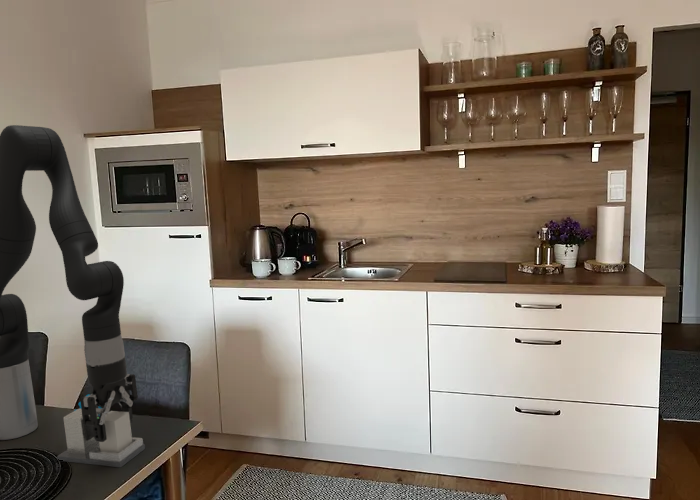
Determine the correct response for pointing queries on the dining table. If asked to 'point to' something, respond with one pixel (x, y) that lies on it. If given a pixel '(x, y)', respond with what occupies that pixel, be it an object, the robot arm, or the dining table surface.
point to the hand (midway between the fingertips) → (114, 431)
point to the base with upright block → (93, 445)
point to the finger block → (116, 432)
